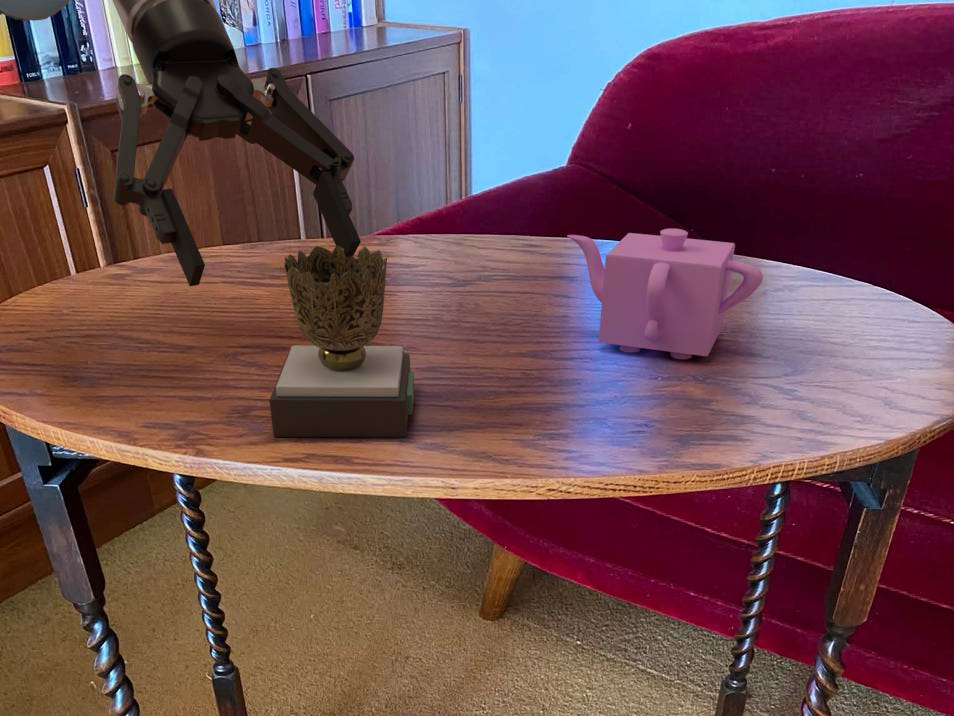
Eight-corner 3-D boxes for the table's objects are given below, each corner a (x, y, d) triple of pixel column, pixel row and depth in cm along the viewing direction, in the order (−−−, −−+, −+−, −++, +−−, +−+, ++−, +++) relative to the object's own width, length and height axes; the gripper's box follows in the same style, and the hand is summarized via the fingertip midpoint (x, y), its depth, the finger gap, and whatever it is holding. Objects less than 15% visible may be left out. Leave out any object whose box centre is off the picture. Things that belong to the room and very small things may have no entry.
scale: (273, 437, 72) (267, 388, 70) (291, 387, 81) (286, 343, 78) (411, 437, 73) (410, 389, 70) (415, 388, 81) (414, 343, 79)
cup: (278, 376, 72) (266, 266, 68) (315, 344, 78) (306, 241, 73) (373, 386, 71) (367, 274, 66) (403, 353, 77) (399, 248, 72)
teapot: (541, 352, 88) (547, 236, 83) (581, 309, 99) (589, 203, 93) (739, 379, 84) (761, 257, 78) (758, 331, 94) (778, 220, 88)
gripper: (300, 58, 87) (393, 267, 86) (14, 70, 75) (119, 314, 74) (324, -10, 81) (425, 216, 80) (15, -8, 69) (130, 257, 68)
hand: (278, 263), depth 77 cm, fingers open, 13 cm apart
